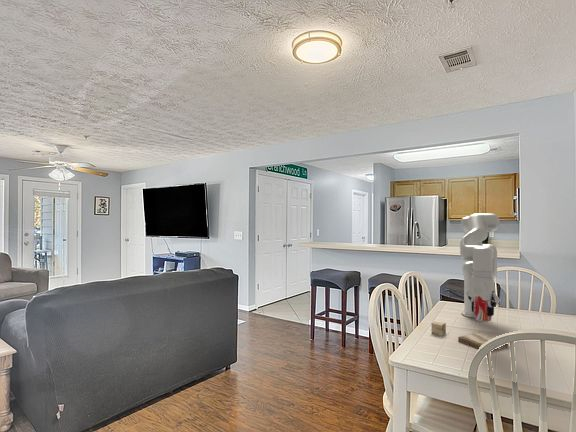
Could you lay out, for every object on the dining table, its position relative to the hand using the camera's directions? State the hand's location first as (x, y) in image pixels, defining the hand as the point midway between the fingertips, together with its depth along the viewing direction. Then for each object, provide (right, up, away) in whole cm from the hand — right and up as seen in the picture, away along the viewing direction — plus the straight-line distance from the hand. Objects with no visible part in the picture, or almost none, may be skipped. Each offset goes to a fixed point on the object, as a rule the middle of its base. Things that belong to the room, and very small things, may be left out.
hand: (482, 313), depth 153 cm
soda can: (0, -3, 0) cm, 3 cm away
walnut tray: (0, -14, 0) cm, 14 cm away
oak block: (-13, -14, +15) cm, 24 cm away
